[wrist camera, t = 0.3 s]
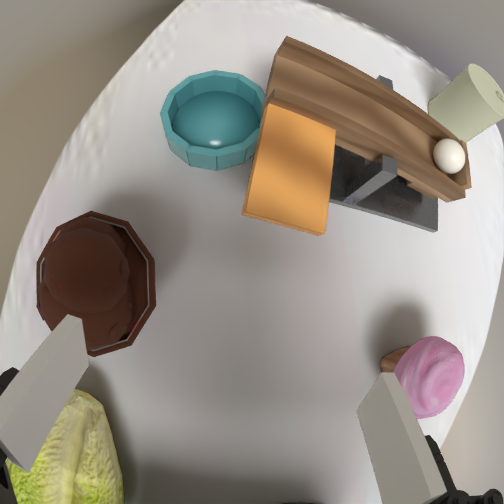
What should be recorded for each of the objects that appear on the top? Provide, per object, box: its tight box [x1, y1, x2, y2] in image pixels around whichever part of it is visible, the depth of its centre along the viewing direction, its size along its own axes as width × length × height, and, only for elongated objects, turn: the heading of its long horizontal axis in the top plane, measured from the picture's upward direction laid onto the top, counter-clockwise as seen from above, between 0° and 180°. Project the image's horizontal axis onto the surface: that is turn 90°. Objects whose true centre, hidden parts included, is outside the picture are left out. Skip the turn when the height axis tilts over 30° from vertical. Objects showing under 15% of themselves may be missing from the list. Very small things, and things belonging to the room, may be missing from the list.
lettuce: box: [6, 389, 124, 504], centre depth 20 cm, size 15×24×16 cm
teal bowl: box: [160, 70, 265, 171], centre depth 30 cm, size 12×12×4 cm
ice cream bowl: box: [36, 211, 156, 357], centre depth 21 cm, size 11×11×15 cm
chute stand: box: [329, 75, 438, 232], centre depth 29 cm, size 13×22×10 cm, turn 79°
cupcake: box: [380, 336, 464, 419], centre depth 25 cm, size 9×9×10 cm
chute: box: [242, 36, 471, 236], centre depth 25 cm, size 17×24×6 cm
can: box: [428, 64, 504, 143], centre depth 31 cm, size 9×9×12 cm
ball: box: [433, 139, 465, 174], centre depth 26 cm, size 4×4×4 cm
